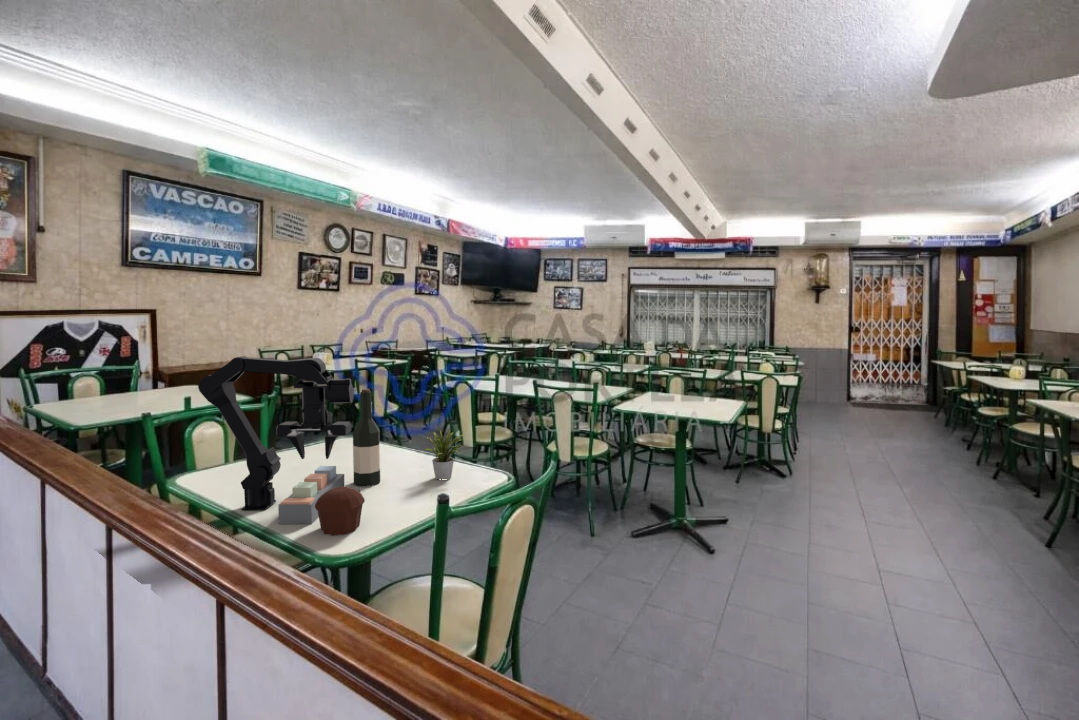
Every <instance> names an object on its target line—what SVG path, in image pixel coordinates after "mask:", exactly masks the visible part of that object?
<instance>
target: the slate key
mask: <svg viewBox="0 0 1079 720" xmlns="http://www.w3.org/2000/svg"><path fill="white" fill-rule="evenodd" d="M314 474H327V481H332V480H333V479H334V478H335V477H336V474H337V466H336V465H319V466H318V467H317V468H316V469H314Z"/></svg>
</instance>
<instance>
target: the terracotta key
mask: <svg viewBox="0 0 1079 720" xmlns="http://www.w3.org/2000/svg"><path fill="white" fill-rule="evenodd" d="M303 482H317V490H322V489H323V488H324V487H325V486H327V474H315V473H310V474H308V475H307V476H306V477H304V479H303Z"/></svg>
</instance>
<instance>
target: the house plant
mask: <svg viewBox="0 0 1079 720" xmlns="http://www.w3.org/2000/svg"><path fill="white" fill-rule="evenodd" d="M447 432H448V433H447V434H446V436H445V438H444V434H443V433H442V430H441V429H439V435H440V436H439V435H438V434H437V433H436V432H435V431H433V436H434V437H433V438H432V439H433V440H432V439H431V437H428V436H426V438H427V439H428V440H429V441H430V442H431V443H432V444H433V446H434V447H433V448H429V447H426V448H424V449H423V450H425V451H430V452H433V453H434V455H435V458H432V459H431V461H432V466H433V468H432V469H433V471H434V478H436V479H441V480H442V479H449V480H450V478H451V479H452V476H453V475H452V474H453V468H454V461H455V459H454V457H451V455H453V454H454V453H455V452H456V453H458V454H459V455H461V453H460V451H459V450H460V448H459V447H460V446H461V447H462V444H459V445H456V446H454V444H455V443H457V442H460V441H463V439H462V438H463V437H462V436H465V435H466V434H465V433H464V434H461V435H458V436H456V437H455V438H453V434H454V431H452V432H451V429H449V430H448V431H447ZM436 479H435V480H436ZM441 480H440V481H441Z"/></svg>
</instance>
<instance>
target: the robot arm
mask: <svg viewBox="0 0 1079 720" xmlns="http://www.w3.org/2000/svg"><path fill="white" fill-rule="evenodd" d="M326 367H327V365H326V363H325V361H323V359H321V358H319V357H311V358H299V359H293V360H290V359H289V360H288V359H277V358H276V359H274V358H261V357H259V358H258V357H248V356H245V355H244V356H237V357H233V358H232V359H231V360H230V361H229V362H227V364H225V365H223V366H221V368H219V369H218V370H216V371H214V372H213V373H212V374H208V375H206V376H203V377H202V378H201V379H200V380H199V383H198V385H197V388H198V391H199V392H200V394H201V395H202V396H203V397H204V398H205V399H206V401H207V402H208V403H209V404H211V405H212V406H214V407H215V408H217V410H219V412H220V413H221V415H222V417H223V419H224V420H225V422H226V424H227V426H228V428H229V429H230V431H231V433H232V434H233V435H234V437H235V439H236V440H237V442H238V445H239V446H240V447H241V449H242V450H243V452H244V454H245V459H246V461H245V462H246V467H247V469H248V472H249V474H248V475H247V476H246V477H244V479H242V481H241V482H240V485H241V488H242V490H243V491H244V493H243V494H244V506H242V507H241V510H242V511H259V510H260V511H263V510H264V511H265V510H267V509H268V508H270V507H271V506H273V504H275V503H277V500H276V499H275V498H276V496H275V495H276V493H275V490H276V489H275V488H274V487H273V486H274V485H273V482H272V480H273V479H274V476H275V475H276V474H277V473H278V472H279V471H280V470H281V462H280V460H282V457H280V456H279V455H278V453H277V450H276V448H275V447H273V446H272V447H270V448H267V447H266V446H265V445H263V443H262V441H261V440H260V438H259V436H258V435H257V433H256V432H255V430H254V428H253V426H252V425H251V423H250V421H249V419H248V418H247V417H246V415H245V412H244V411H243V409H242V407H241V406H240V405H239V403H238V400H237V392H236V387H235V385H234V382H236V381H237V380H238V379H239V378H240V377H241V376H242V375H243V374H244V373H245V372H246V373H258V374H259V373H261V374H272V375H273V374H274V375H276V374H277V375H285V376H286V375H287V376H290V377H293V378H297V379H299V380H298V381H297V383H296V384H295V385H293V388H294V389H301V396H302V397H301V399H302V400H301V401H302V408H300V413H301V414H302V423H301V424H300V423H299V422H298V421H284V422H281V423H280V424H278V425H277V426H276V427H275V428H276V429H275V435H276V436H277V437H278V436H285V438H286V439H289V440H290V442H291V443H292V445H293V446H294V447H295V450H296V451H297V454H298V455H299V457H300V458H301V460H304V459H305V457H306V456H305V455H306V451H305V442H304V439H305V432H312V433H314V432H315V433H316V432H317V433H318V432H321V433H323V432H327V435H325V436H324V448H325V449H324V451H325V452H324V454H325V455H324V456H325V459H326V460H328V459H330V456H331V452H332V449H333V447H334V444H335V442H336V440H337V438H339V437H340V436H347V434H349V433H351V432H352V424H351V422H350V421H336V422H334V423H333V414H334V413H333V412H331V411H328V408H327V405H326V401H329V403H330V404H352V403H353V402H354V398H355V397H354V396H355V393H354V391H355V390H354V387H353V383H352V379H351V378H344V379H343V378H342V379H339V378H338V379H335V378H334V377H333V376H332V374H331V373H330V372H329V371H328V370H327V368H326Z"/></svg>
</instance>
